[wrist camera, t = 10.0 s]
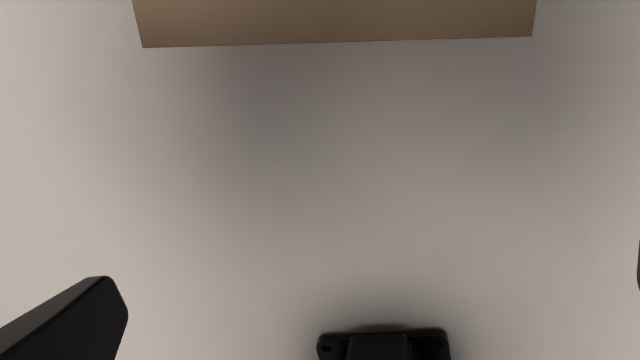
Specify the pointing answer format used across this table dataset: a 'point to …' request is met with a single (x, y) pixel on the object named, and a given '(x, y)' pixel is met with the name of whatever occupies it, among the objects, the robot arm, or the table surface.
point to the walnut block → (326, 21)
